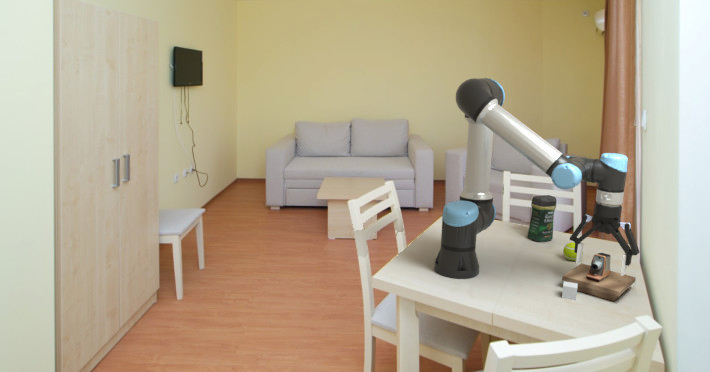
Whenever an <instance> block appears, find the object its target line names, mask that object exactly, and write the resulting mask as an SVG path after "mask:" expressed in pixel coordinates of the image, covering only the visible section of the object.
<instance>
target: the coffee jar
mask: <svg viewBox="0 0 710 372" xmlns="http://www.w3.org/2000/svg"><path fill="white" fill-rule="evenodd" d="M530 206H531V215H530V221H529V226H528V231H527V238H528V239H529V240H531V241H533V242H535V241H536V242H538V243H542V242H544V243H545V242H549V241H552V240H553V237H554V236H553V235H554V215H555V211H556V209H557V198H556V197H555V196H552V195H551V194H550V195H549V194H547V195H546V194H545V195H535V196H532V199H531V204H530Z"/></svg>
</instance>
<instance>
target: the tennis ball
mask: <svg viewBox="0 0 710 372" xmlns="http://www.w3.org/2000/svg"><path fill="white" fill-rule="evenodd" d="M574 249H575V242H574V241H572V242H568V243H566V245H564V247H563V250H562V251H563V253H562V254H563V255H564V257H565V258H566V260H569V261H572V262H576V258H577V253H575V252H574ZM583 254H584V251H583V252H582V256H583Z"/></svg>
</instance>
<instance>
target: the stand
mask: <svg viewBox="0 0 710 372" xmlns="http://www.w3.org/2000/svg"><path fill="white" fill-rule="evenodd" d="M590 267H591V264H590V265H589V264H586V263H582V262H581V263H579V264H577V266H575V267H574V268H572V269H571V270H569V271H568V272H566V273H565V274H563V275H562V277H561V278H562V279H561V281H563V282H564V281H565V282H572V283H578V286H577V292H581V293H584V294H588V295H591V296H594V297H598V298H602V299H606V300H609V301H612V302H615V301H616V300H617V299H618V298H619V297H621V296H622V294H623V293H625V292H626V291H627V290H628V289H629V288H630V287H631V286H632V285H634V284H635V282H636V279H637V278H636V276H632V275H628V274H625V275H624V276H621V275H620V274H621V272H616V271H612V270H610V275H609V276H607V277H606V278H605V279H602V280H600V282H596V281H592V280H589V279H587V278H586V274H588V273H589V270H590Z"/></svg>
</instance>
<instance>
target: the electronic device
mask: <svg viewBox="0 0 710 372" xmlns="http://www.w3.org/2000/svg"><path fill="white" fill-rule="evenodd" d="M590 266H591V267H590V270H589V273H588V274H586V278H587V279H589V280H592V281H596V282H600V280H602V279H605V278H606V277H607V276H609V275H610V271H611V254H608V253H605V252H598V253H595V254H594V255H593V257H592V259H591V262H590Z"/></svg>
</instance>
